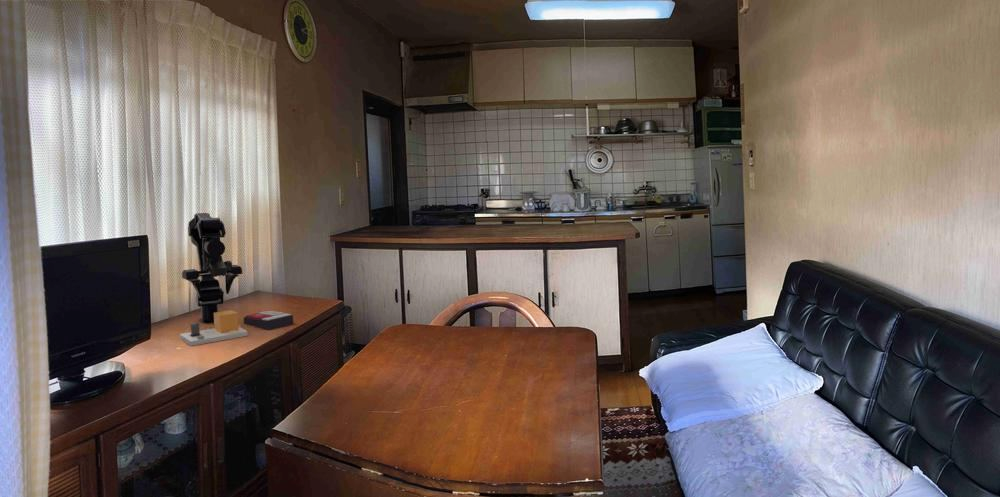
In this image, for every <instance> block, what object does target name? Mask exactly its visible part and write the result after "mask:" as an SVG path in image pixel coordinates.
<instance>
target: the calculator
mask: <svg viewBox="0 0 1000 497" xmlns="http://www.w3.org/2000/svg"><path fill="white" fill-rule="evenodd" d="M245 324H246V326H249V325H250V326H249V327H253V326H254V327H255V328H260V329H261V328H262V329H263V330H265V331H271V330H274V329H278V328H282V327H286V326H290V325H294V316H293V314H291V313H285V312H280V311H273V310H266V311H260V312H258V313H257V312H256V313H251V314H248V315H247V314H246V315H244V317H243V325H245ZM262 329H261V330H262Z"/></svg>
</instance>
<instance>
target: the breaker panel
mask: <svg viewBox="0 0 1000 497" xmlns="http://www.w3.org/2000/svg"><path fill="white" fill-rule="evenodd" d="M248 336H249V333H248V330H246V329H244V328H242V327H241V326H239V330H232V331H229V332H224V333H220V332H218V331H216V330H215V327H214V328H207V329H202V330H200V335H198V336H191V331H190V332H185V333H180V334H179V339H180V340H182V342H184V343H186V345H189V347H193V346H199V345H205V344H208V343H214V342H220V341H226V340H231V339H237V338H241V337H242V338H243V337H248Z"/></svg>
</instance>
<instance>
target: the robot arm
mask: <svg viewBox="0 0 1000 497" xmlns="http://www.w3.org/2000/svg"><path fill="white" fill-rule="evenodd" d="M187 234H188V237H190V240H191V243H192V245H194V246H195V247H196V252H197V253H196V254H197V257H198V267H199V270H198V269H195V268H191V269H183V270H182V272H181V278H182V279H183V280H185V281H188V282H190V283H191V285H193V287H194V289H195V291H196V292H195V293H196V295H195V303H196V306H197V307H201V308H200V310H201V311H200V312H201V318H200V317H199V318H198V320H199V321H200V322H202V323H204V324H205V323H206V324H207V323H214V313H215V312H219V305H223V304H224V302H225V301H224V297H225V293H226V295H229V294H230V291H231V289H232V288H231V287H232V284H233V282H234V280H235V279H236V278H238V277H239V276H240V275H242V274H243V268H242V267H241V266H240V265H237V264H233V262H232V261H231V260H225V261H223V254H224V253H225V252H226V251H225V250H226V246H225V244H224V242H223V241H221V238H225V237H226V235H227V234H226V227H225V224H224V222H223V221H222V220H221V218H220V217H212V216H211V215H210V213H209V212H202V213H200V212H197V213H194V215H193V218H192V219H191V220H190V221H189V222H188V226H187ZM220 276H221V277H222V276H223V277H224V280H225V291H224V290H223V288H221V287H220V285H221V284H220V281H219V280H218V279H217V278H216V277H220ZM199 277H200V279H199Z"/></svg>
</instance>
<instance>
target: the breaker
mask: <svg viewBox="0 0 1000 497" xmlns="http://www.w3.org/2000/svg"><path fill="white" fill-rule="evenodd" d="M200 328H201V327H200V322H191V323H190V332H191V336H198V335H200V331H201V330H200Z"/></svg>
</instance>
